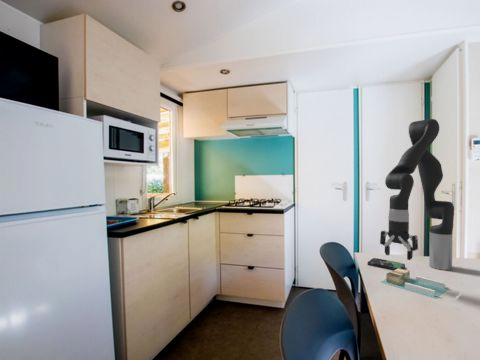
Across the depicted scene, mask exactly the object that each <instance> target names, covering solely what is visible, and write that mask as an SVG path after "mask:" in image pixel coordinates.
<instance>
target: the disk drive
mask: <svg viewBox="0 0 480 360" xmlns="http://www.w3.org/2000/svg"><path fill="white" fill-rule="evenodd" d="M367 266H370V267H373V268H380V269H384V270H389V271H394V270H396V269H398V268H400V269H404V270H405V268H406V265H405V263H403V262H398V261H393V260H387V259H384V258H383V259H382V258H376V257H373V258H372V259H370V260H368V261H367Z"/></svg>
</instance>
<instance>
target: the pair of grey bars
mask: <svg viewBox="0 0 480 360" xmlns="http://www.w3.org/2000/svg"><path fill="white" fill-rule="evenodd" d="M415 279H416V281H417V282H421V283H425V284H429V285H432V286H436V287H440V288H443V289H444V288H445V287H446V283H445V282H443V281H439V280H436V279H435V280H434V279H431V278H427V277H423V276H419V275H416V276H415ZM405 288H406V289H410V290H413V291H416V292H420V293H423V294H427V295H430V296H433V297H434V296H435V290H432V289H428V288H424V287H421V286H417V285H414V284H410V283H405Z"/></svg>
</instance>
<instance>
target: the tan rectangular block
mask: <svg viewBox="0 0 480 360" xmlns="http://www.w3.org/2000/svg"><path fill="white" fill-rule="evenodd" d="M410 278H411V276H410V270H407V269H405V268H404V269H400V268H398V269H396V270H394V271H393V270H391V271H389V272H387V273H386V278H385V279H386V282H387V283H391V284H394V285H400V284H401V283H403V282H405V281H407V280H408V279H410Z"/></svg>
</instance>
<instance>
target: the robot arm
mask: <svg viewBox="0 0 480 360" xmlns="http://www.w3.org/2000/svg"><path fill="white" fill-rule="evenodd" d="M439 133H440V124H439V122H438V120H437V119H435V118H428V119H422V120H415V121H412V122H410V124H409V125H408V136H409V139H410V142H411V145H412V146H410V147H408V149H407V150H406V151H404V152H403V154H402V155H401V158H400V159H399V162H398V163H397V165H395V166H394V167H393V169H392V170H391V171H389V173H388V174H387V175H386V177H385V180H384V181H385V186H386V188H387V189H390V190H397V191H398V190H399V193H398V194H395V195H394V194H393V195H391V196H390V197H389V208H388V209H389V210H388V231H386V230H381V231H380V238H379V239H380V240H379V244H380V245H383V246H384V254H385V255H386V256H390V254H391V252H390V251H391V249H390V248H391V246H390V245H391V244H392V243H394V244H399V245H403V246H404V247H405V249H407V253H406V259H407V260H408V261H410V260H412V259H413V255H414V254H413V252H414V251H417V250H419V243H418V242H419V240H418V239H419V238H418V236H417V235H411V234H410V233H409V232H410V214H409V199H410V197H411V193H412V191H413V187H414V184H415V183H414V182H415V181H414V178H413V175H412V174H413V173H414V172H415V171H416V169H418V173H419V174H418V175H419V177H420V182H421V186H422V192H423V200H424V208H425V213H426V215H427V217H428V218H430V219H435V220H442V221H441V223H440V224H436V225H431V226H429V254H428V255H429V258H428V259H429V262H428V263H429V265H428V266H429V267H430V268H434V269H437V270H443V271H451V270H453V229H454V221H455V220H454V219H455V218H454V217H455V206H454V204H453V202H452V201H446V200H443V201H442V200H436V199H435V193H436V191H437V189H438V187H439V185H440V184H441V183H442V181H443V178H444V173H443V168H442V163H441V162H440V160H439V159H438V158H437V157H436V156H435V155H434V154H433V153H432V152H431V151H429V150H428V149H429V147H430V146H431V145H432V144H433V142H434V141H435V140H436V139H437V137H438V135H439ZM387 236H388V237H389V239H387ZM386 239H387V240H386ZM409 239H410V240H411V243H412V244H411V243H410V241H409Z"/></svg>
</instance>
